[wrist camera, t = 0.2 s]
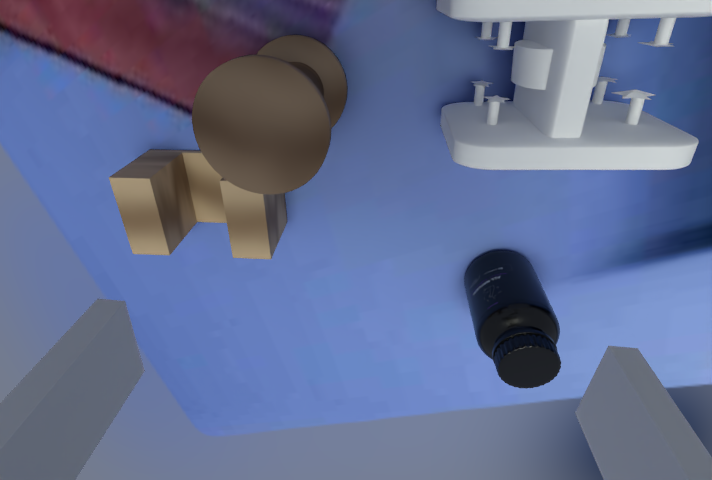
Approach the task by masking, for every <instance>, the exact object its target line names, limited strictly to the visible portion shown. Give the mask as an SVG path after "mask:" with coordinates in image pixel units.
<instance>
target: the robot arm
mask: <svg viewBox="0 0 712 480" xmlns="http://www.w3.org/2000/svg"><path fill="white" fill-rule="evenodd" d="M144 371H145V370H144V367H143V363H142V360H141V356H140V353H139V349H138V346H137V342H136V339H135V335H134V331H133V328H132V324H131V321H130V317H129V314H128V310H127V307H126V303H125V301H117V300H106V299H97V300H96V301H95V302H94V303H93V304H92V306H91V307H90V308H89V309H88V310H87V311H86V312H85V313H84V314H83V315H82V316H81V317H80V318H79V319H78V320H77V321H76V323H75V324H74V325H73V326H72V327H71V328H70V329H69V330H68V331H67V332H66V333H65V334H64V335H63V336H62V338H61V339H60V340H59V341H58V342H57V343H56V344H55V345H54V346H53V347H52V348H51V349H50V350H49V352H48V353H47V354H46V355H45V356H44V357H43V358H42V359H41V360H40V361H39V362H38V363H37V364H36V366H35V367H34V368H33V369H32V370H31V371H30V372H29V373H28V374H27V375H26V376H25V377H24V378H23V379H22V380H21V382H20V383H19V384H18V385H17V386H16V387H15V388H14V389H13V390H12V391H11V392H10V393H9V394H8V395H7V397H6V398H5V399H4V400H3V401H2V402H1V403H0V480H76V478H77V476H78V475H79V473H80V472H81V470H82V469H83V467H84V465H85V464H86V462H87V461H88V459H89V458H90V456H91V454H92V453H93V451H94V450H95V448H96V447H97V445H98V443H99V442H100V440H101V439H102V437H103V436H104V434H105V433H106V431H107V429H108V428H109V426H110V425H111V423H112V421H113V420H114V418H115V417H116V415H117V414H118V412H119V410H120V409H121V407H122V406H123V404H124V403H125V401H126V399H127V398H128V396H129V395H130V393H131V392H132V390H133V389H134V387H135V385H136V384H137V382H138V381H139V379H140V377H141V376H142V374H143V373H144ZM575 414H576V416H577V418H578V421H579V423H580V426H581V428H582V430H583V433H584V435H585V437H586V439H587V442H588V444H589V447H590V449H591V451H592V453H593V456H594V458H595V460H596V463H597V465H598V467H599V470H600V472H601V474H602V476H603V479H604V480H712V458H711V456H710V454H709V453H708V452H707V450H706V448H705V447H704V446H703V444H702V443H701V441H700V440H699V438H698V437H697V435H696V434H695V432H694V431H693V429H692V428H691V427H690V425H689V423H688V422H687V421H686V419H685V417H684V416H683V415H682V413H681V412H680V410H679V409H678V407H677V406H676V404H675V403H674V401H673V400H672V398H671V397H670V395H669V394H668V392H667V391H666V389H665V388H664V387H663V385H662V384H661V382H660V381H659V379H658V378H657V376H656V375H655V373H654V372H653V370H652V369H651V367H650V366H649V364H648V363H647V361H646V360H645V359H644V357H643V356H642V354H641V353H640V351H639V350H638V348H627V347H616V346H608V348H607V350H606V352H605V354H604V356H603V358H602V360H601V362H600V364H599V366H598V368H597V370H596V372H595V374H594V376H593V378H592V380H591V382H590V384H589V386H588V388H587V390H586V392H585V394H584V396H583V398H582V400H581V402H580V404H579V406H578V408H577V410H576V412H575Z"/></svg>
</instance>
